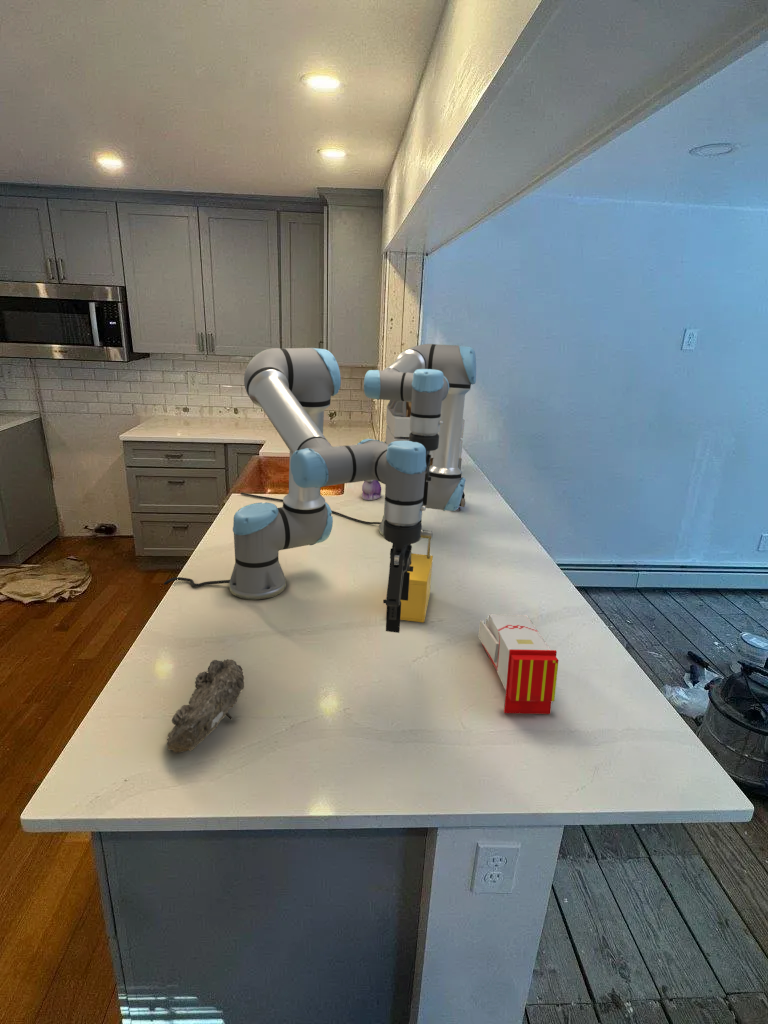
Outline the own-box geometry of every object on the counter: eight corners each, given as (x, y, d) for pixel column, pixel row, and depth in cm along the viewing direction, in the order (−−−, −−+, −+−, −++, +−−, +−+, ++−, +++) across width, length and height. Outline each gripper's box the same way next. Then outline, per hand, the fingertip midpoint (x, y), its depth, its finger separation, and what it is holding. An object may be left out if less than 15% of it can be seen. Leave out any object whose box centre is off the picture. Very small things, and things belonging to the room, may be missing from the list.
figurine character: (465, 515, 224) (460, 499, 237) (467, 498, 221) (462, 483, 234) (448, 515, 224) (444, 499, 237) (450, 498, 220) (445, 482, 234)
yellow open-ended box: (398, 590, 160) (400, 556, 156) (429, 594, 159) (432, 560, 155) (389, 618, 145) (391, 581, 142) (424, 622, 144) (426, 585, 140)
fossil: (192, 660, 117) (244, 628, 112) (224, 691, 120) (276, 661, 115) (142, 746, 98) (202, 712, 93) (182, 779, 101) (242, 748, 96)
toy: (524, 600, 137) (567, 656, 108) (520, 651, 140) (560, 720, 111) (474, 599, 137) (504, 655, 107) (471, 650, 140) (498, 719, 110)
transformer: (382, 463, 289) (386, 382, 275) (445, 464, 293) (451, 384, 279) (390, 482, 257) (394, 392, 243) (460, 483, 261) (468, 394, 247)
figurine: (366, 502, 230) (367, 466, 225) (355, 494, 239) (356, 460, 234) (386, 499, 235) (388, 464, 229) (375, 492, 243) (377, 458, 238)
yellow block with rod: (400, 555, 157) (402, 525, 154) (432, 559, 155) (435, 528, 152) (391, 581, 142) (392, 548, 139) (426, 585, 140) (429, 552, 137)
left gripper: (414, 546, 100) (407, 649, 107) (427, 502, 123) (421, 589, 131) (372, 541, 101) (368, 644, 108) (393, 499, 124) (389, 585, 132)
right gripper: (435, 444, 130) (428, 530, 137) (442, 424, 153) (437, 499, 161) (402, 442, 131) (398, 527, 138) (415, 422, 154) (410, 496, 162)
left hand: (397, 614), depth 120 cm, fingers open, 13 cm apart
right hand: (419, 512), depth 150 cm, fingers open, 13 cm apart
